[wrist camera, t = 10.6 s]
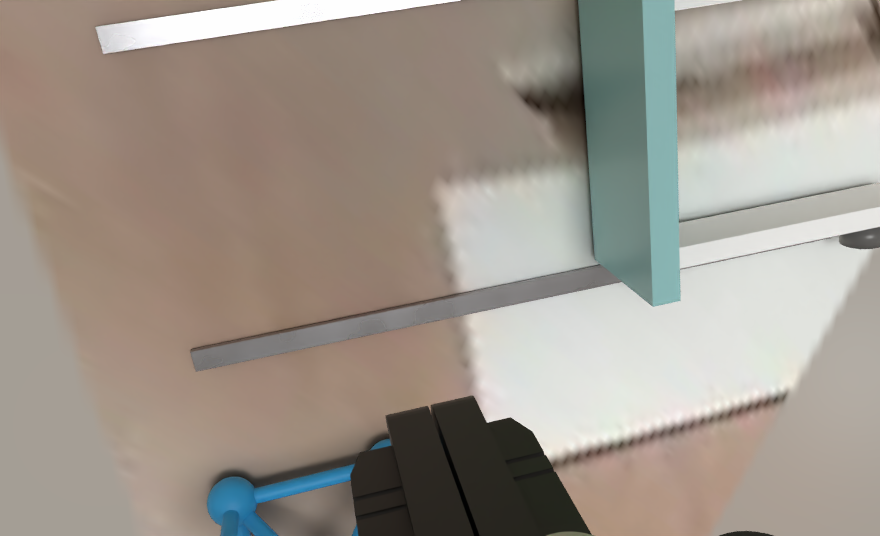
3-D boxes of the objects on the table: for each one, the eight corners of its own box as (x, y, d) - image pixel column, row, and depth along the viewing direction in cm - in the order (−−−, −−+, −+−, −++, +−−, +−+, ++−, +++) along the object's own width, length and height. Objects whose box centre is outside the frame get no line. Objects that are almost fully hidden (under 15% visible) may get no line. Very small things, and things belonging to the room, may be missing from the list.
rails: (97, 26, 28) (95, 26, 28) (844, -82, 32) (849, -83, 32) (196, 368, 33) (196, 371, 33) (826, 236, 38) (830, 237, 37)
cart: (575, -43, 30) (640, -55, 25) (900, -90, 32) (1027, -111, 27) (596, 288, 36) (654, 339, 30) (873, 229, 38) (975, 267, 32)
